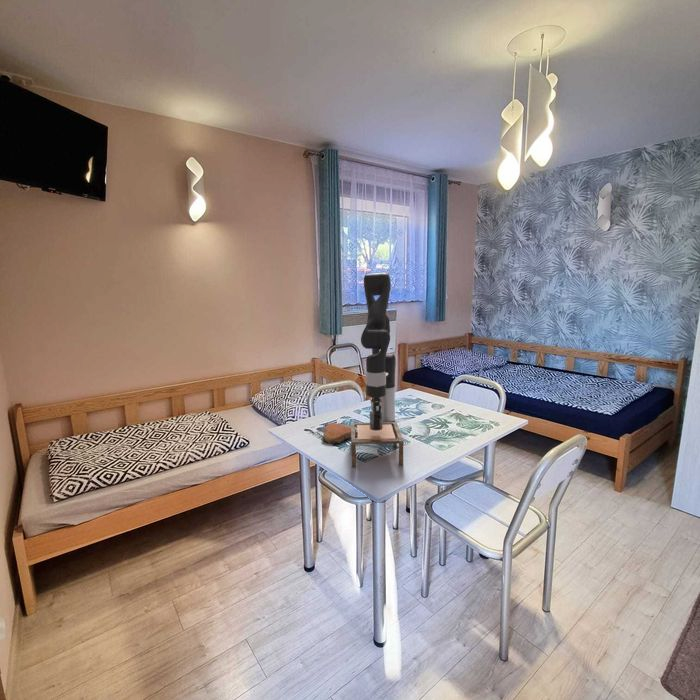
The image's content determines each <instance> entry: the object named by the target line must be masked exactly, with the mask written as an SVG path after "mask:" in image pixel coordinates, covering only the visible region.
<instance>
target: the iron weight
mask: <svg viewBox="0 0 700 700" xmlns="http://www.w3.org/2000/svg"><path fill="white" fill-rule="evenodd" d="M375 416H379V415H375ZM369 423H370V429H371V430H375V431H378V430H382V428H383V418H382V412H381V420H380V429H374V419H373V413H372V411H369Z"/></svg>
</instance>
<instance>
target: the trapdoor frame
mask: <svg viewBox="0 0 700 700" xmlns="http://www.w3.org/2000/svg"><path fill="white" fill-rule="evenodd" d="M385 424H391V425H392V428H393V432H394V435H395V438H396V439H392V440H358V439H356V437H355V430H356V429H355V428H357V425H370V422H350V428H351V438H350V448H351V468H357V446H356V445H358V446H359V445H392V446H393V447H398V466H399V467H404V438H403V435H402V433H401V431H400V429H399V425H398V422H397V421H393V422H383V425H385Z"/></svg>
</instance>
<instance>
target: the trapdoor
mask: <svg viewBox="0 0 700 700" xmlns="http://www.w3.org/2000/svg"><path fill="white" fill-rule="evenodd" d="M356 431H357V433H358V435H357V440H392V439H396V438H395V435H394V432H393V426H392V425H391V424H385V425H383V428H382V430H378V431H375V430H371V429H370V425H357V427H356Z"/></svg>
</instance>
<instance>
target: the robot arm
mask: <svg viewBox="0 0 700 700" xmlns="http://www.w3.org/2000/svg"><path fill="white" fill-rule="evenodd" d="M391 286H392V285H391V277H390V274H389V273H387V272H377V273H367V274H365V275H364V277H363V289H364V295H365V299H366V301H365V302H366V306H367V321H366V325H365V327H364V329H363V330H362V333H361V337H360V344H361V345H362V347H363V348H365V349H367V350H369V349H370V350H371V354H370V355H368V356H367V357H366V358H365V359H366V360H365V364H366V365H365V367H366V371H365V395H366V396H367V397H369V398H370V409H371V412H372V413H373V419H374V429H380V420H381V412H382V418H383V422H395V419H396V418H395V417H396V415H395V414H396V412H395V411H396V408H395V407H396V406H395V405H396V355H395V354H393V353H388V349H389V346H390V342H391V335H390V333H391V326H390V325H391V324H390V317H389V316H388V315H387V308H388V305H389V300H390V295H391V290H392V289H391ZM377 296H378V298H377V299H376V298H375V297H377ZM386 373H387V375H386ZM375 415H379V416H375Z"/></svg>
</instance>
